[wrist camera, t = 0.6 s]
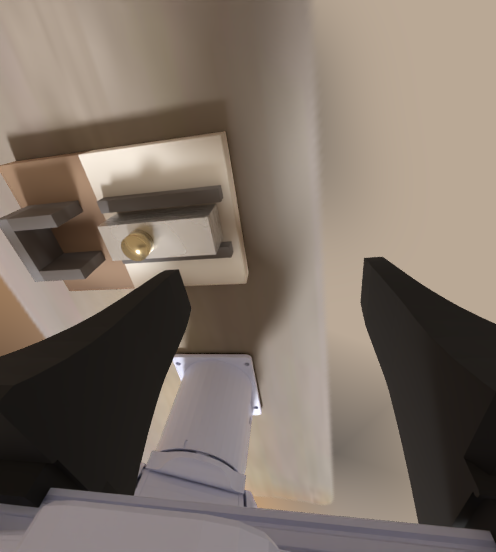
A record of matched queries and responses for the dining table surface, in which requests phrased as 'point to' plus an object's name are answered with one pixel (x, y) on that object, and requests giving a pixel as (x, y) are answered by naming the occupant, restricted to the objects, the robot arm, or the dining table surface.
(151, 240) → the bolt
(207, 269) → the door and jamb
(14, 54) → the dining table surface
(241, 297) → the dining table surface
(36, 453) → the robot arm
